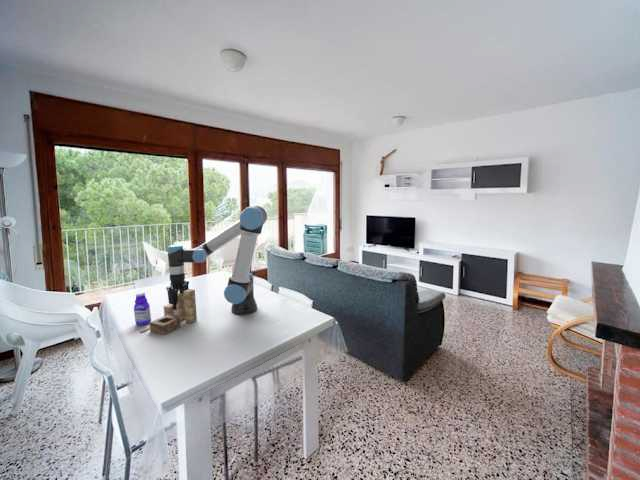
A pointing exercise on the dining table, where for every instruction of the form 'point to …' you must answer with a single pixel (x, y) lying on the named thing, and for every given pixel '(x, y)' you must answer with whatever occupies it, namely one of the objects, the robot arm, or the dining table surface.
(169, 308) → the peg short
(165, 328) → the hole block
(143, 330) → the strip
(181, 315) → the peg medium
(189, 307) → the peg long
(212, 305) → the dining table surface
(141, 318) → the bottle
